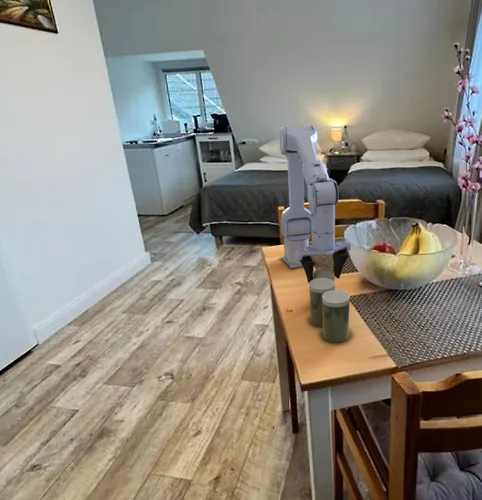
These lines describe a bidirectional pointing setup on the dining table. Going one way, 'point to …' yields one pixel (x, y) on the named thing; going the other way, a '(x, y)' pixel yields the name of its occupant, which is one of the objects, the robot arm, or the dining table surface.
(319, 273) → the candle
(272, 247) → the dining table surface
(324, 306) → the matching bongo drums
